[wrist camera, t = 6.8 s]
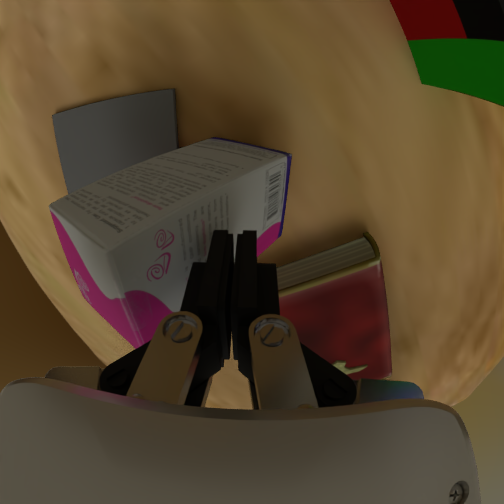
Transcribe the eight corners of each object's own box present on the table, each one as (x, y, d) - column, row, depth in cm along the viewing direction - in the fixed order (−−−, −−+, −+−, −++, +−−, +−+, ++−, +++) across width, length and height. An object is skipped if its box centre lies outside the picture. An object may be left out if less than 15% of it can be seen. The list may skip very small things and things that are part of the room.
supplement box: (211, 135, 17) (43, 201, 9) (294, 152, 15) (110, 252, 7) (211, 211, 21) (79, 299, 13) (282, 238, 18) (151, 365, 10)
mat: (174, 88, 15) (172, 89, 15) (191, 253, 23) (190, 256, 22) (55, 113, 15) (52, 115, 15) (90, 251, 23) (88, 254, 22)
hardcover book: (367, 228, 21) (385, 260, 18) (386, 351, 33) (394, 377, 29) (235, 274, 25) (232, 310, 21) (304, 376, 36) (306, 402, 32)
